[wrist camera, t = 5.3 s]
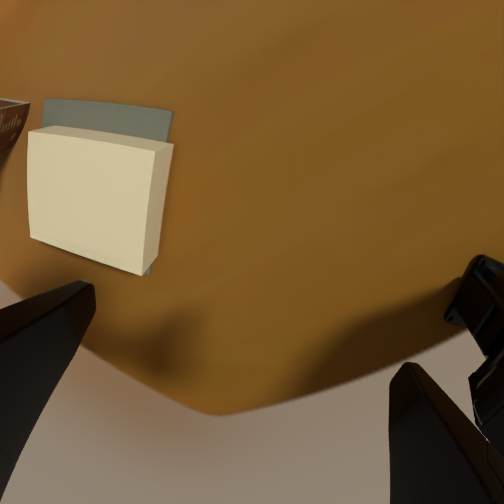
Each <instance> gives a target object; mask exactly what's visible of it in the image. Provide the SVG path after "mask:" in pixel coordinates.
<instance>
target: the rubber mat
mask: <svg viewBox="0 0 504 504" xmlns="http://www.w3.org/2000/svg"><path fill="white" fill-rule="evenodd" d="M173 112H174V111H169V110H163V109H156V108H149V107H142V106H135V105H127V104H118V103H109V102H98V101H86V100H71V99H45V100H44V108H43V117H42V127H41V128H45V127H50V126H55V125H58V126H67V127H75V128H83V129H90V130H97V131H104V132H111V133H117V134H123V135H129V136H135V137H141V138H146V139H152V140H157V141H162V142H167V143H168V137H169V132H170V127H171V122H172V117H173ZM150 273H151V265H150V266H149V267H148V269H147V270H146V271H145V272H144V274H148V275H149V274H150Z"/></svg>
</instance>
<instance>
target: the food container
mask: <svg viewBox="0 0 504 504" xmlns="http://www.w3.org/2000/svg"><path fill="white" fill-rule="evenodd" d="M29 107H30V103H29V102H23V101H17V100H10V99H4V98H0V152H1V151H3V150H5V149H7V148H9V147H10V146H11V145H12V144H13V143H14V142H15V141H16V140H17V138H18V137H19V135H20V133H21V131H22V129H23V127H24V124H25V122H26V119H27V115H28V112H29Z"/></svg>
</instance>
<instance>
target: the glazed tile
mask: <svg viewBox="0 0 504 504" xmlns="http://www.w3.org/2000/svg"><path fill="white" fill-rule="evenodd" d="M173 150H174V144H172V143H167V142H162V141H157V140H152V139H146V138H141V137H135V136H129V135H123V134H117V133H111V132H104V131H97V130H90V129H83V128H75V127H67V126H58V125H55V126H50V127H45V128H41V129H37V130H33V131H29V134H28V156H27V189H28V211H29V225H30V236H31V238H34V239H37V240H39V241H42V242H45V243H47V244H50V245H53V246H56V247H58V248H61V249H64V250H67V251H69V252H72V253H75V254H78V255H81V256H83V257H86V258H89V259H92V260H95V261H98V262H101V263H104V264H107V265H110V266H113V267H116V268H119V269H122V270H125V271H128V272H131V273H134V274H137V275H140V276H142V275H143V274H144V272H145V271H146V270H147V269H148V267H149V266H150V265H151V263H152V262H153V261H154V260H155V258H156V257H157V256H158V254H159V245H160V236H161V228H162V220H163V212H164V205H165V198H166V192H167V185H168V179H169V173H170V167H171V161H172V155H173Z"/></svg>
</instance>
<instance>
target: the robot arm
mask: <svg viewBox="0 0 504 504" xmlns="http://www.w3.org/2000/svg"><path fill="white" fill-rule="evenodd" d="M482 260H483V262H482ZM481 262H482V263H481ZM95 311H96V299H95V288H94V285H93V284H92V283H91V282H88V281H85V280H82V279H80V280H77V281H74V282H71V283H68V284H66V285H63V286H60V287H58V288H55V289H52V290H49V291H47V292H44V293H41V294H39V295H36V296H33V297H31V298H28V299H26V300H23V301H20V302H18V303H15V304H13V305H10V306H7V307H5V308H2V309H0V501H1V498H2V496H3V493H4V491H5V488H6V486H7V484H8V481H9V479H10V477H11V474H12V472H13V470H14V468H15V465H16V464H15V463H17V461H18V458H19V456H20V454H21V452H22V450H23V448H24V446H25V444H26V442H27V440H28V438H29V435H30V434H31V432H32V430H33V428H34V426H35V424H36V422H37V420H38V418H39V416H40V414H41V413H42V411H43V409H44V407H45V405H46V403H47V402H48V400H49V398H50V396H51V394H52V393H53V391H54V389H55V387H56V386H57V384H58V382H59V380H60V379H61V377H62V375H63V373H64V372H65V370H66V368H67V367H68V365H69V363H70V362H71V360H72V358H73V357H74V355H75V353H76V351H77V348H78V347H79V345H80V343H81V340H82V338H83V336H84V334H85V332H86V330H87V328H88V326H89V324H90V322H91V320H92V318H93V316H94V314H95ZM450 316H451V317H450ZM449 317H450V318H449ZM444 319H445V321H446V323H449V324H453V325H457V326H462V327H466V328H468V330H469V331H470V333H471V335H472V336H473V337H474V339H475V341H476V343H477V344H478V346H479V348H480V350H481V351H482V353H483V355H484V356H485V358H486V360H485V362H484V363H483V364H482V365H481V366H480V367H479V368H478V369H477V370H476V371H475V372H474V373H472V374H471V375H470V376H469V377H468V380H469V385H470V391H471V397H472V404H473V411H474V417H475V424H476V425H477V427H479V430H480V431H481V432H482V434H483V435H484V436H485V437H486V438H487V439H488V441H489V442H490V443H489V442H488V441H487V440H486V438H485V437H484V436H483V435H482V434H481V432H480V431H479V430H478V429H477V428H476V427H475V426H474V424H473V423H472V422H471V421H470V420H469V419H468V418H467V417H466V415H465V414H464V413H463V412H462V411H461V410H460V409H459V407H458V406H457V405H456V404H455V403H454V402H453V401H452V400H451V399H450V398H449V397H448V395H447V394H446V393H445V392H444V391H443V390H442V389H441V388H440V387H439V385H437V383H436V382H435V381H434V380H433V379H432V378H431V377H430V376H429V375H428V374H427V373H426V371H425V370H424V369H423V368H422V367H421V366H420V365H419V364H417V363H412V362H405V363H404V364H403V365H402V366H401V368H400V369H399V370H398V372H397V373H396V374H395V376H394V377H393V378H392V380H391V382H390V386H389V453H390V504H504V264H503V263H501V262H499V261H497V260H495V259H493V258H490V257H488V256H486V255H483V254H482V255H480V256H479V257H478V258H477V260H476V262H475V264H474V266H473V267H472V269H471V271H470V273H469V275H468V277H467V278H466V280H465V282H464V284H463V286H462V287H461V289H460V291H459V292H458V294H457V296H456V298H455V299H454V301H453V302H452V304H451V306H450V307H449V309H448V311H447V312H446V314H445V315H444Z"/></svg>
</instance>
